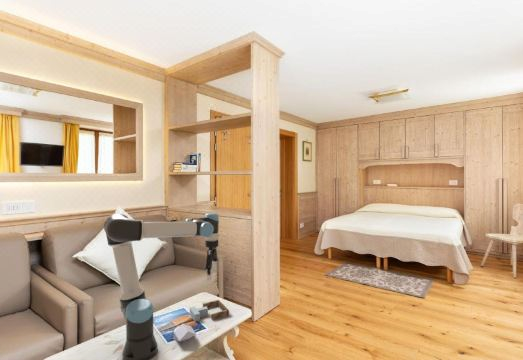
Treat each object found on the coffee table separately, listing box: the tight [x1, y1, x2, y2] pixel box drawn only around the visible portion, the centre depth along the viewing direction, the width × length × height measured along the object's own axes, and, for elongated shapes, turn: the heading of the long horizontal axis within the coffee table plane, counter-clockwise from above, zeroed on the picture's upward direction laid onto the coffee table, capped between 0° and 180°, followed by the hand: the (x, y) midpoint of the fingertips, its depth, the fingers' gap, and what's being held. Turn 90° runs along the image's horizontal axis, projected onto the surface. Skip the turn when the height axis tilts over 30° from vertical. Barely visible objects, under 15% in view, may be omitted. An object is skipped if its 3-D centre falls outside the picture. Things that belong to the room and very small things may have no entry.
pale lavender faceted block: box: [173, 323, 198, 342], centre depth 146 cm, size 9×7×13 cm
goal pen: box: [202, 299, 230, 321], centre depth 173 cm, size 10×16×3 cm, turn 30°
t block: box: [189, 306, 209, 322], centre depth 168 cm, size 9×10×4 cm
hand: (211, 276), depth 167 cm, fingers open, 13 cm apart
